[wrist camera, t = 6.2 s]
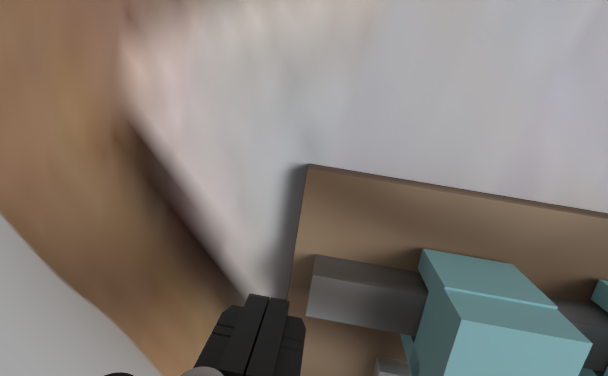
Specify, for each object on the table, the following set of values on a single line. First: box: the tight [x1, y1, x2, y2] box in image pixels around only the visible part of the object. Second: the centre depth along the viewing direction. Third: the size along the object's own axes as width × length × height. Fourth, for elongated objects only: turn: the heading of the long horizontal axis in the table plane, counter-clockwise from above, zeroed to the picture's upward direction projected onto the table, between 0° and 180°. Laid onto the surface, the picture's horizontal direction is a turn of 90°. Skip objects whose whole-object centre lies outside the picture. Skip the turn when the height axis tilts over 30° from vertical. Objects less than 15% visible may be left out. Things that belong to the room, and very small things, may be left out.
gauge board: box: [287, 164, 608, 376], centre depth 16 cm, size 16×18×3 cm
